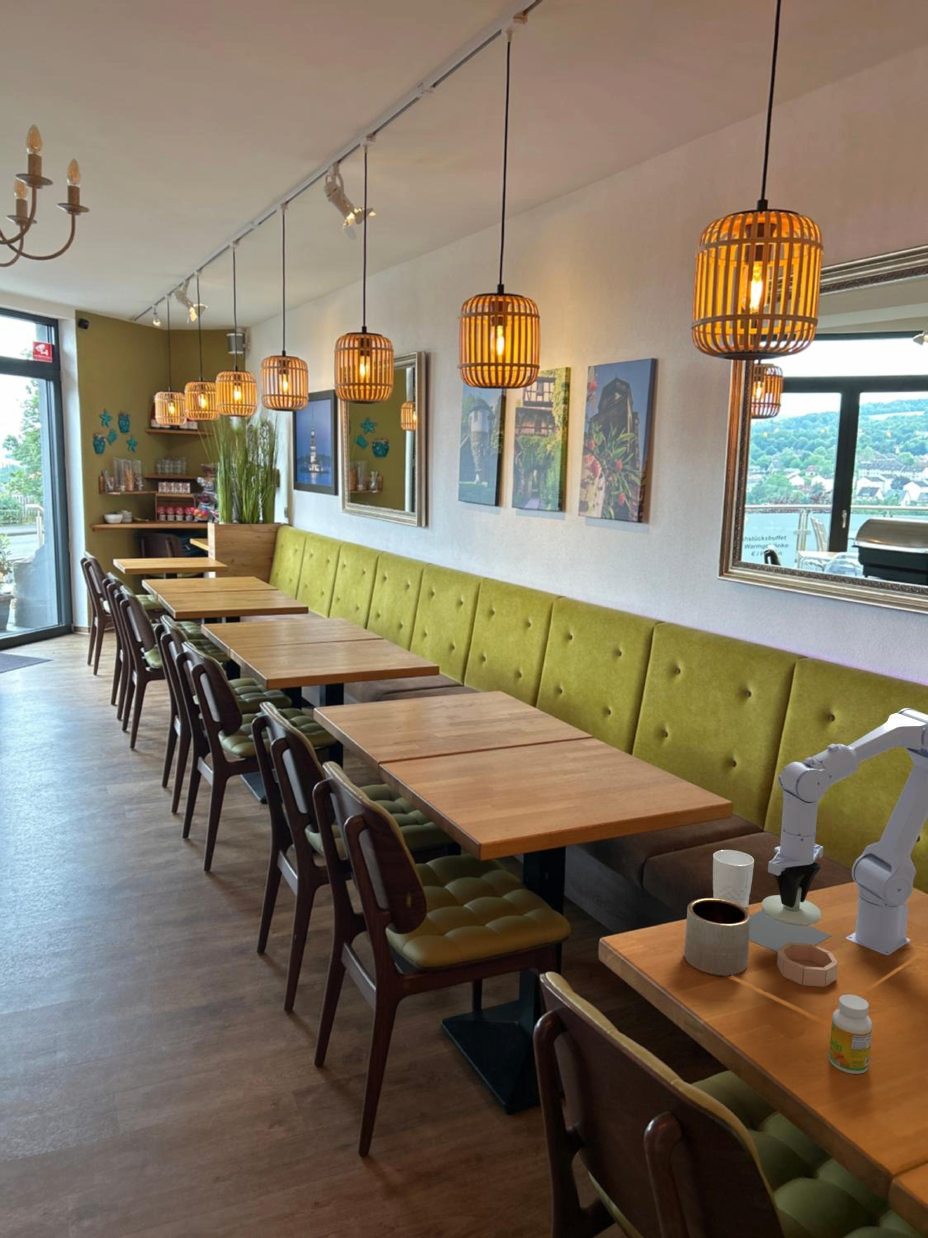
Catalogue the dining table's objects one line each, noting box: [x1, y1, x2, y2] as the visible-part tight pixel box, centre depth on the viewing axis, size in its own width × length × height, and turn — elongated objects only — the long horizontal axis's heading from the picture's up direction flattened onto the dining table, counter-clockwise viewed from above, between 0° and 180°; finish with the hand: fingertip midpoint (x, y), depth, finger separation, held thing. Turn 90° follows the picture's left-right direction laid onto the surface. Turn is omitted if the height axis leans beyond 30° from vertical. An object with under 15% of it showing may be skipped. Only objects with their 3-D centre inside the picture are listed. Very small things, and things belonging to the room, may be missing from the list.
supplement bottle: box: [828, 993, 873, 1075], centre depth 131 cm, size 5×5×10 cm
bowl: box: [776, 942, 839, 987], centre depth 156 cm, size 9×9×4 cm
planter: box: [684, 897, 751, 977], centre depth 160 cm, size 11×11×10 cm
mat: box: [749, 909, 833, 954], centre depth 170 cm, size 14×14×1 cm
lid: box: [761, 886, 822, 926], centre depth 163 cm, size 10×10×5 cm
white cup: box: [712, 849, 755, 909], centre depth 182 cm, size 8×8×10 cm
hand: (792, 902), depth 163 cm, fingers closed on lid, 3 cm apart
